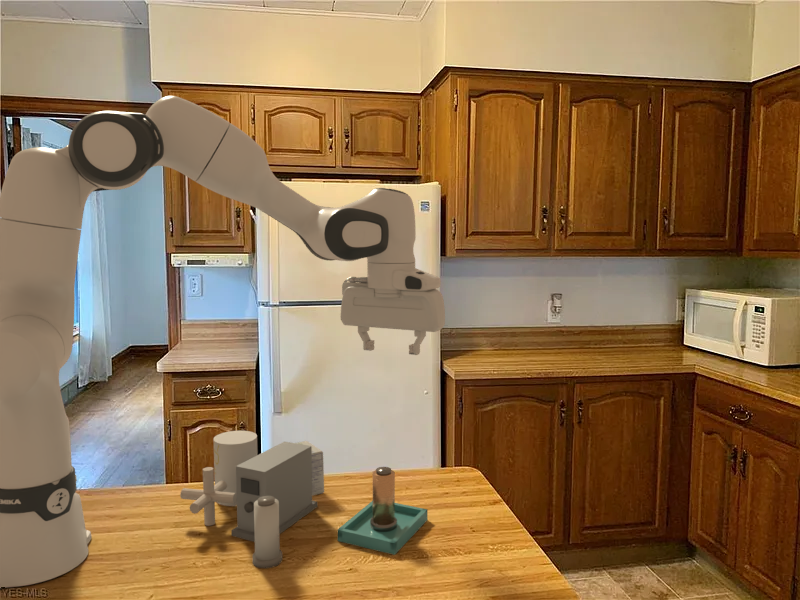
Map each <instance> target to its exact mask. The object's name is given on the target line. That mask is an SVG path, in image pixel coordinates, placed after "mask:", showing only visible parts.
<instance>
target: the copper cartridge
mask: <svg viewBox="0 0 800 600" xmlns="http://www.w3.org/2000/svg"><path fill="white" fill-rule="evenodd" d="M395 477H396V476H395V471H394V470H393V469H392V468H391V467H388V466H379V467H377V468H376V469H375V470H373V471H372V501H373V517H372V518H371V520H370V527H371V528H372V529H373V530H375V531H378V532H388V531H392V530H394V529H395V528H396V527H397V519H396V518H395V503H396V501H395V499H396V498H395V497H396V494H395V492H396V491H395V490H396V489H395V487H396V486H395V485H396V484H395V483H396V482H395V481H396V479H395Z"/></svg>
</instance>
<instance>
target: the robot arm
mask: <svg viewBox="0 0 800 600" xmlns="http://www.w3.org/2000/svg"><path fill="white" fill-rule="evenodd" d="M157 166H158V167H165V168H170V169H172V170H174V171H177V172H179V173H181V174H182V175H184V176H185V177H187V178H189V179H190V180H192V181H194V182H195V183H197V184H198V185H201V187H204V188H206V189H208V190H209V191H212V192H214V193H216V194H218V195H220V196H224V197H225V198H228V199H231V200H233V201H234V200H235V201H237V202H240V203H242V204H245V205H248V206H250V207H253V208H255V209H257V210H259V211H260V212H262V213H265V215H267V216H269V217H270V218H273V220H276V221H277V222H278V223H280V224H282V225H283V226H285V227H286V228H288V229H289V230H291V231H293V232H294V233H295V234H296V235H297V236H298V237H299V238H300V240H301V241H302V243H303V244H304V245H305V247H306V249H307V250H308V251H309V253H311V254H313V256H314V257H316V258H319V259H321V260H322V261H323V260H324V261H341V262H355V261H358V260H360V259H364V258H366V262H367V272H366V273H367V276H366V277H365V276H361V277H359V276H358V277H357V276H349V277H348V278H346V279H345V280H344V281H343V282H342V285H341V293H342V294H341V295H342V299H341V305H340V321H341V323H342V324H343V325H344V326H352V327H357V333H358V335H359V337H360V339H361V340H362V342H363V345H362V346H363V347H362V349H363V351H369V352H370V351H374V350H375V340H373V339H371V336H370V335H369V333H368V332H369V331H370V328H377V329H392V330H402V331H413V333H414V337H416V339H415V340H414V343H411V344H409V345H408V354H409V355H412V356H418V355H420V352H421V345H422V343H423V341H424V340H425V337H427V332H430V333H436V332H439V331H441V330H442V329H443V328H444V327H445V324H446V313H445V312H446V311H445V302H444V296H443V294H442V293H441V291H440V290H438V288H440V287H441V278H440V276H437V275H434V274H433V273H432V274H431V273H429V272H426V271H424V270H422V269H419V268H416V258H415V252H414V246H415V242H416V237H417V235H416V213H415V207H414V202H413V200H412V197H411V196H410V195H409V194H408V193H406V192H404V191H401V190H397V189H393V188H386V187H376V188H373V189H372V190H370V192H368V193H367V194H366V195H364V196H363V197H361V198H359V199H356V200H355V201H351V202H350V203H348V204H345V205H342V206H339V207H329V206H322V205H318V204H315V203H313V202H311V201H310V200H309V199H307V198H306V197H304V196H302V195H301V194H299V193H298V192H297V191H295V190H294V189H292V188H290V187H289V186H288V185H286V184H284V183H283V182H282V181H280V179H278V177H276V176H275V174H274V173H273V172H272V169H271V168H270V165H269V161H268V157H267V155H266V152H265V150H264V149H263V147H262V146H260V144H258V142H256V141H255V139H253V138H252V137H251V136H250V135H249V134H247V133H246V132H245V131H243V130H242V129H241V128H238V127H237V126H236V125H235V124H233V123H230V121H228V120H226V119H225V118H223V117H221V116H220V115H218V114H216V113H214V112H212V111H210V109H209V110H208V109H207V108H205V107H202V106H201V105H198V104H196V103H194V102H192V101H189V100H187V99H185V98H182V97H179V96H176V95H167V96H164V97H161V98H159V99H158V100H156V101H155V102H154V103H153V104H152V105H151V106H150V107H149V108H148V110H147V112H146V113H141V112H129V111H128V112H126V111H117V110H102V111H95V112H91V113H89V114H88V115H85V116H84V117H82V118H81V119H80V120H78V122H76V124H75V125H74V127H73V128H72V131H71V133H70V136H69V140H68V144H67V145H65V146H64V147H62V148H56V149H55V148H50V147H40V146H39V147H38V146H37V147H30V148H26V149H22V150H20V151H19V152H17V153H16V154H15V155H14V156H13V157H12V158H11V160H10V164H9V166H8V169H7V171H6V174H5V178H4V180H3V184H2V187H1V191H0V589H2V588H1V587H5V588H14V587H23V586H30V585H34V584H39V583H42V582H46V581H50V580H52V579H55V578H57V577H60V576H62V575H64V574H66V573H68V572H70V571H72V570H74V569H75V568H77V567H78V566H80V564H81V563H83V562H84V561H85V560H86V558H87V557H88V554H89V547H88V545H89V543H90V541H91V540H92V532H91V530H88V529H86V522H85V516H84V510H83V506H82V505H83V504H82V499H81V495H80V494H79V493H77V492H76V491H77V481H78V480H77V474H76V469H75V467H74V466H73V464H72V462H73V461H72V448H71V447H72V446H71V426H70V419H69V416H68V415H67V412H66V408H65V404H64V401H63V396H62V392H61V386H60V370H61V369H62V368H63V367H64V366H65V365H66V364H67V362H68V360H69V359H70V357H71V354H72V350H73V344H74V343H73V341H74V329H75V326H74V325H75V301H76V300H75V299H76V298H75V297H76V295H75V283H76V273H77V264H78V259H79V258H78V257H79V250H80V241H81V236H82V235H81V233H82V226H83V219H84V212H85V206H86V203H87V200H88V198H89V196H90V195H91V194H92V193H93V192H100V191H112V190H113V191H117V190H118V191H119V190H123V189H127V188H130V187H133V186H134V185H136V184H138V183H139V181H141V180H142V179H143V178H144V176H145V175H146V173H147V172H148V171H149V170H150V169H151V168H153V167H157Z"/></svg>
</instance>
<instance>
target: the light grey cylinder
mask: <svg viewBox="0 0 800 600" xmlns="http://www.w3.org/2000/svg"><path fill="white" fill-rule="evenodd" d="M257 455H259V454H258V435H257V433H256V432H253V431H249V430H230V431H226V432H225V431H224V432H221V433H219V434H217V435H215V436H214V437H213V468H214V485H216V484H217V483H218V482H219V481H225V482H226V484H227V488H226V489H225V490H224V491H223V492H231V493H237V489H236V466H237V465H239V464H241V463H243V462H245V461H247V460H249V459H251V458H253V457H255V456H257ZM216 503H217V504H218V505H221V506H225V507H237V501H236V503H235V504H231V503H221V502H216Z"/></svg>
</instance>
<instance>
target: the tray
mask: <svg viewBox="0 0 800 600" xmlns="http://www.w3.org/2000/svg"><path fill="white" fill-rule="evenodd" d="M372 517H373V500H372V501H370V502H369V503H368V504H367V505H365V507H363V508H362V509H360V510H359V511H358V512H357V513H356V514H354V515H353V516H352V517H351V518H350V519H348V521H346V522H345V523H343V525H341V526H340V527H339V528H338V529H337V530H336V531H337V532H336V533H337V542H340V543H345V544H348V545H352V546H356V547H361V548H365V549H369V550H374V551H378V552H381V553H385V554H389V555H393V556H394V555H396V554H397V553H398V552H399V551H400V550H401V549H402V548H403V547H404V546H405V544H406V543H407V542H409V541H410V539H411V538H412V537H413V536H414V535H415V534H416V533H417V532H418V531H419V530H420V529H421V528H422V526H423V525H424V524H426V523H427V521H428V509H427V508H422V507H418V506H417V507H416V506H412V505H409V504H402V503H398V502H395V518H396V519H397V527H396V528H395V529H394V530H392V531H388V532H378V531H375V530H373V529H372V528H371V527H370V520H371V518H372Z"/></svg>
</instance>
